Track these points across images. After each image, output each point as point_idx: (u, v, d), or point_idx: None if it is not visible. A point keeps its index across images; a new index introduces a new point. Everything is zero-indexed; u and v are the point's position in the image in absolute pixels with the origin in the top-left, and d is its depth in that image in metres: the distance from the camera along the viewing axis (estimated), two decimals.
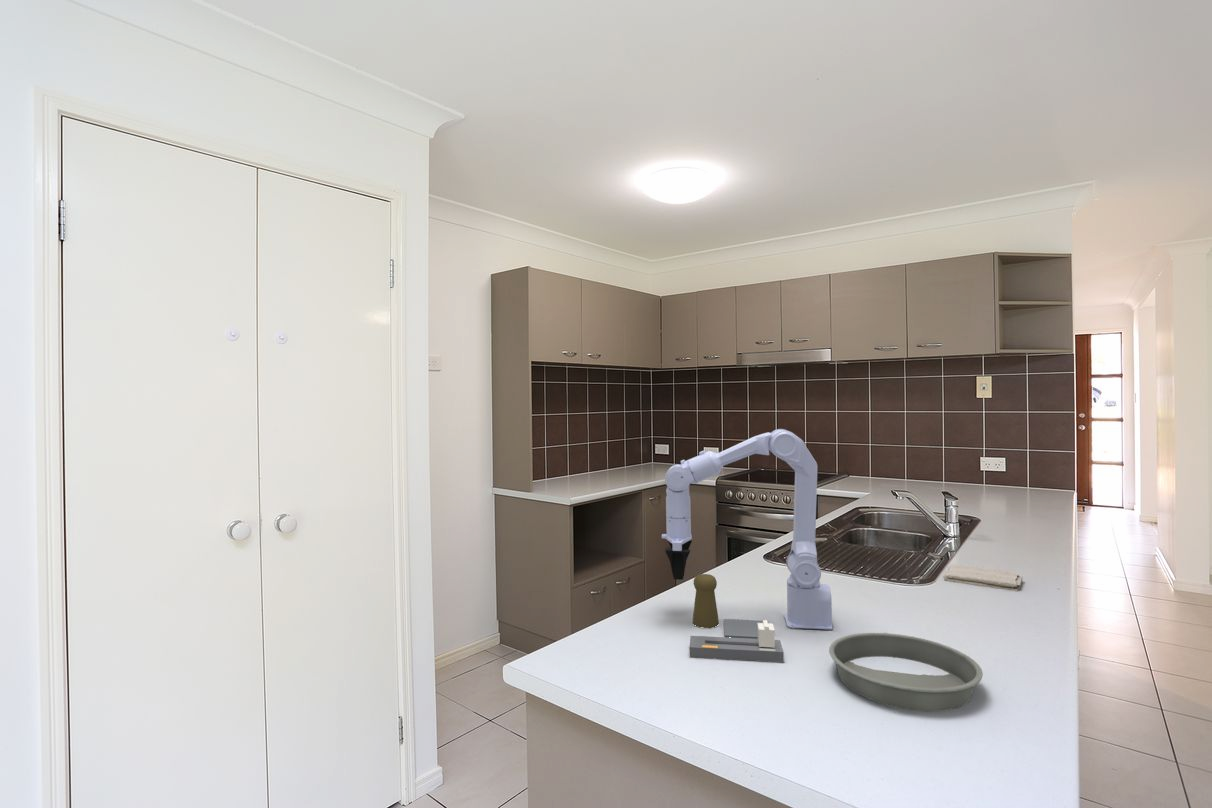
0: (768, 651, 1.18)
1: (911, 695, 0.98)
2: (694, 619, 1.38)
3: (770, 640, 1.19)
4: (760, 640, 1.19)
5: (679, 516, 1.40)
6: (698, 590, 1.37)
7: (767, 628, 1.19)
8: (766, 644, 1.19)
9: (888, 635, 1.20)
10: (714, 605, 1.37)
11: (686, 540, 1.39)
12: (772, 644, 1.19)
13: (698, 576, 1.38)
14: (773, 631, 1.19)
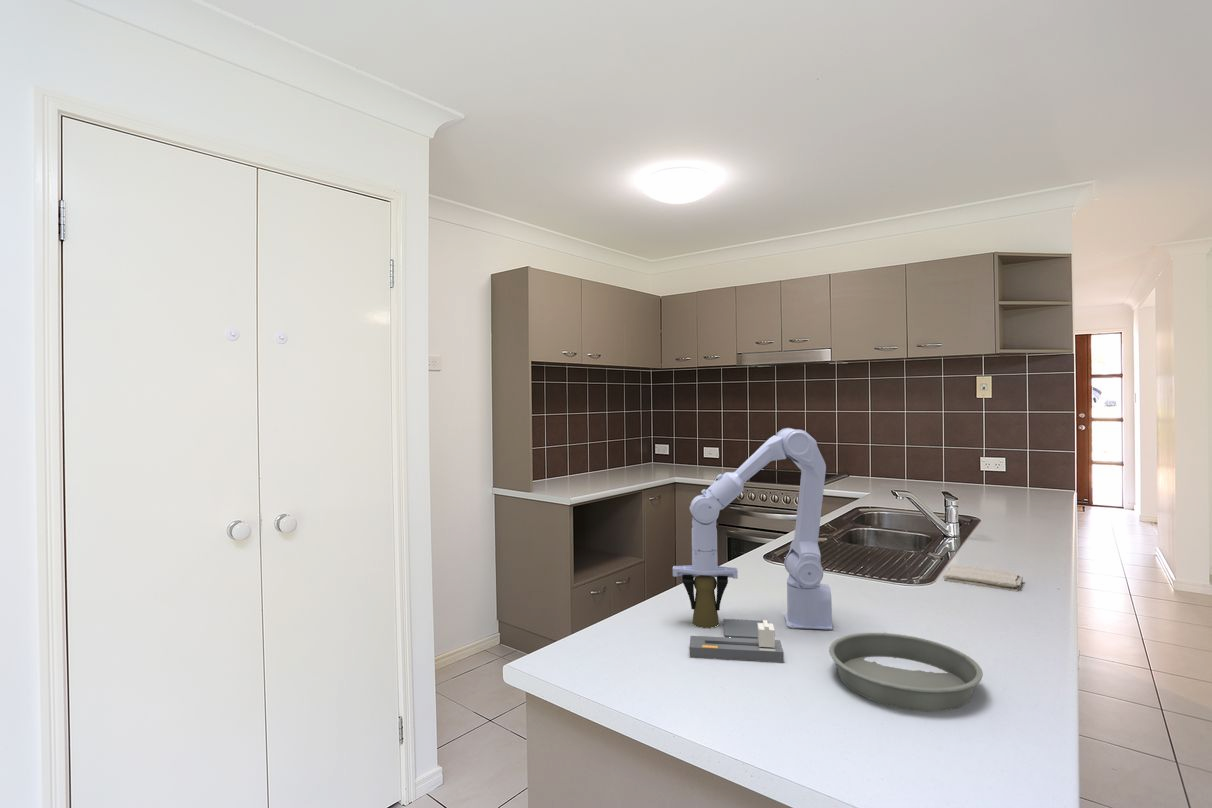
0: (768, 651, 1.18)
1: (911, 695, 0.98)
2: (694, 619, 1.38)
3: (770, 640, 1.19)
4: (760, 640, 1.19)
5: (707, 549, 1.36)
6: (698, 590, 1.37)
7: (767, 628, 1.19)
8: (766, 644, 1.19)
9: (888, 635, 1.20)
10: (714, 605, 1.37)
11: (688, 571, 1.37)
12: (772, 644, 1.19)
13: (698, 576, 1.38)
14: (773, 631, 1.19)
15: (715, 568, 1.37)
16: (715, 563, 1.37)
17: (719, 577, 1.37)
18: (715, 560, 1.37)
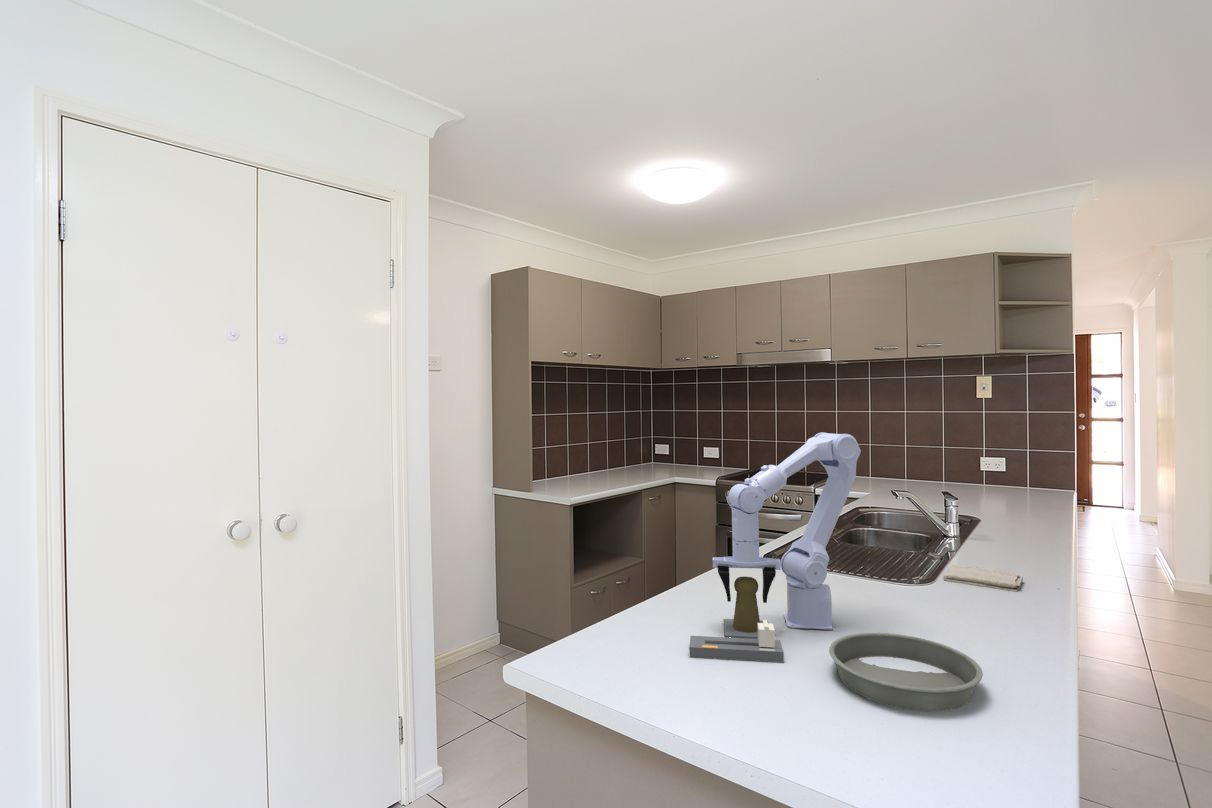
0: (768, 651, 1.18)
1: (911, 695, 0.98)
2: (735, 623, 1.33)
3: (770, 640, 1.19)
4: (760, 640, 1.19)
5: (753, 539, 1.31)
6: (739, 593, 1.33)
7: (767, 628, 1.19)
8: (766, 644, 1.19)
9: (888, 635, 1.20)
10: (756, 609, 1.33)
11: (729, 562, 1.33)
12: (772, 644, 1.19)
13: (739, 579, 1.34)
14: (773, 631, 1.19)
15: (757, 559, 1.32)
16: (757, 554, 1.32)
17: (761, 568, 1.33)
18: (757, 551, 1.32)
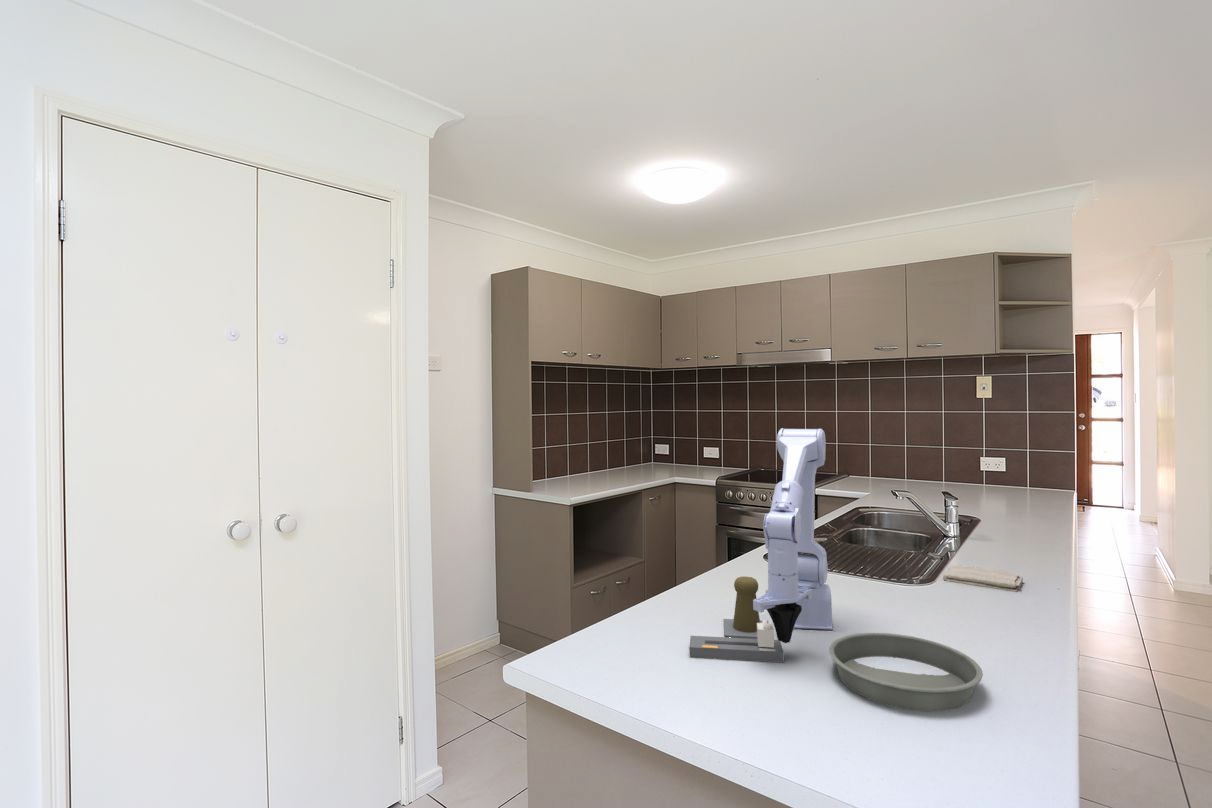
0: (768, 651, 1.18)
1: (911, 695, 0.98)
2: (735, 623, 1.33)
3: (769, 639, 1.19)
4: (759, 640, 1.19)
5: (797, 570, 1.19)
6: (739, 593, 1.33)
7: (766, 628, 1.19)
8: (765, 644, 1.19)
9: (888, 635, 1.20)
10: None
11: (778, 602, 1.17)
12: (771, 644, 1.19)
13: (739, 579, 1.34)
14: (772, 631, 1.19)
15: None
16: None
17: None
18: None
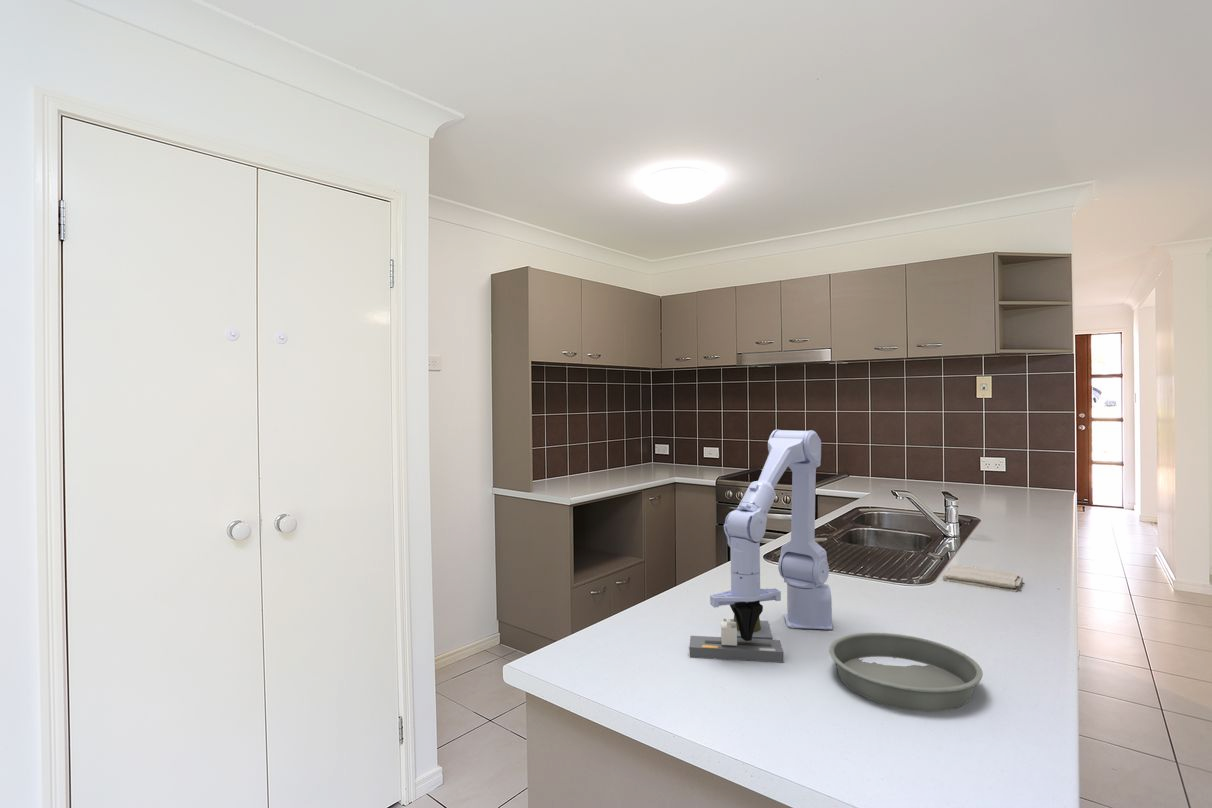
0: (768, 651, 1.18)
1: (911, 694, 0.98)
2: None
3: (732, 638, 1.20)
4: (723, 638, 1.20)
5: (758, 570, 1.20)
6: None
7: (729, 626, 1.20)
8: (728, 642, 1.20)
9: (888, 635, 1.20)
10: None
11: (733, 599, 1.19)
12: (734, 642, 1.20)
13: None
14: (735, 629, 1.20)
15: (760, 592, 1.20)
16: None
17: None
18: None
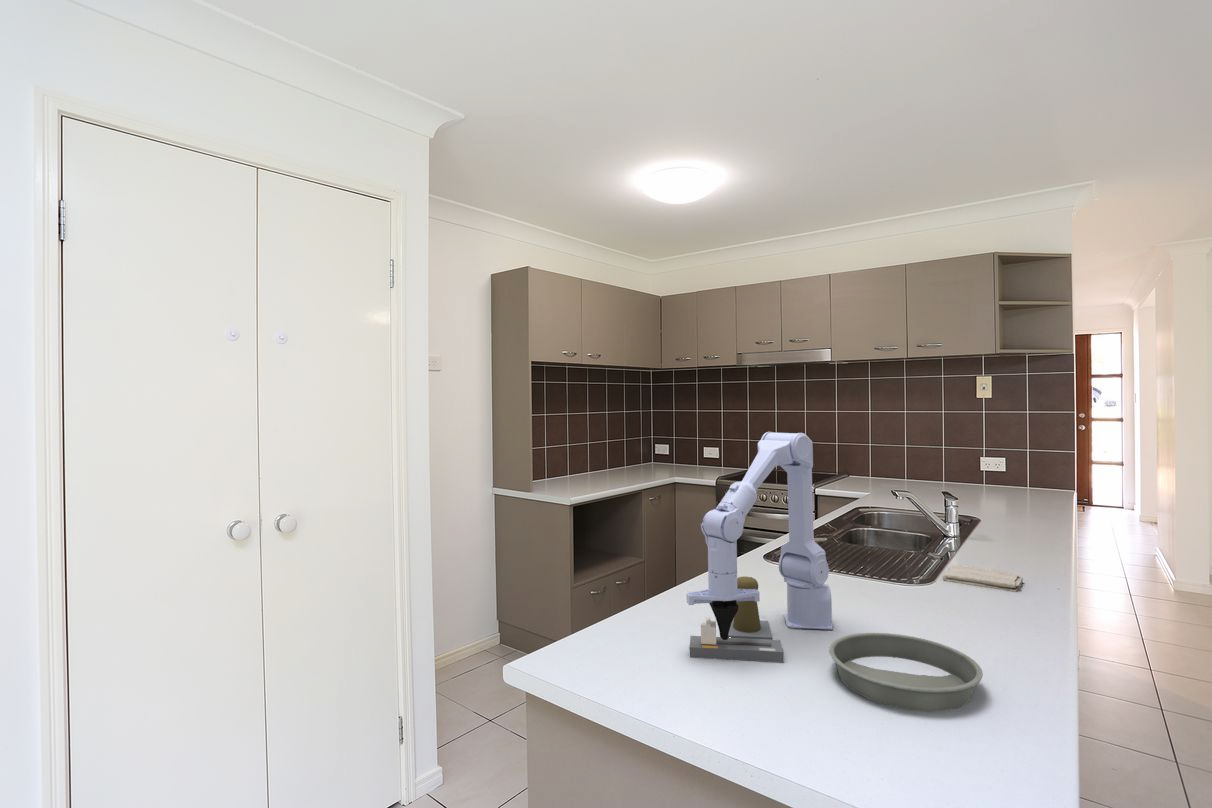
0: (768, 651, 1.18)
1: (911, 695, 0.98)
2: (735, 623, 1.33)
3: (712, 637, 1.21)
4: (702, 637, 1.21)
5: (734, 570, 1.20)
6: None
7: (709, 625, 1.21)
8: (708, 641, 1.21)
9: (888, 635, 1.20)
10: (756, 609, 1.33)
11: (708, 598, 1.20)
12: (714, 641, 1.21)
13: (739, 579, 1.34)
14: (715, 628, 1.21)
15: (736, 592, 1.21)
16: (736, 586, 1.21)
17: None
18: (736, 583, 1.21)
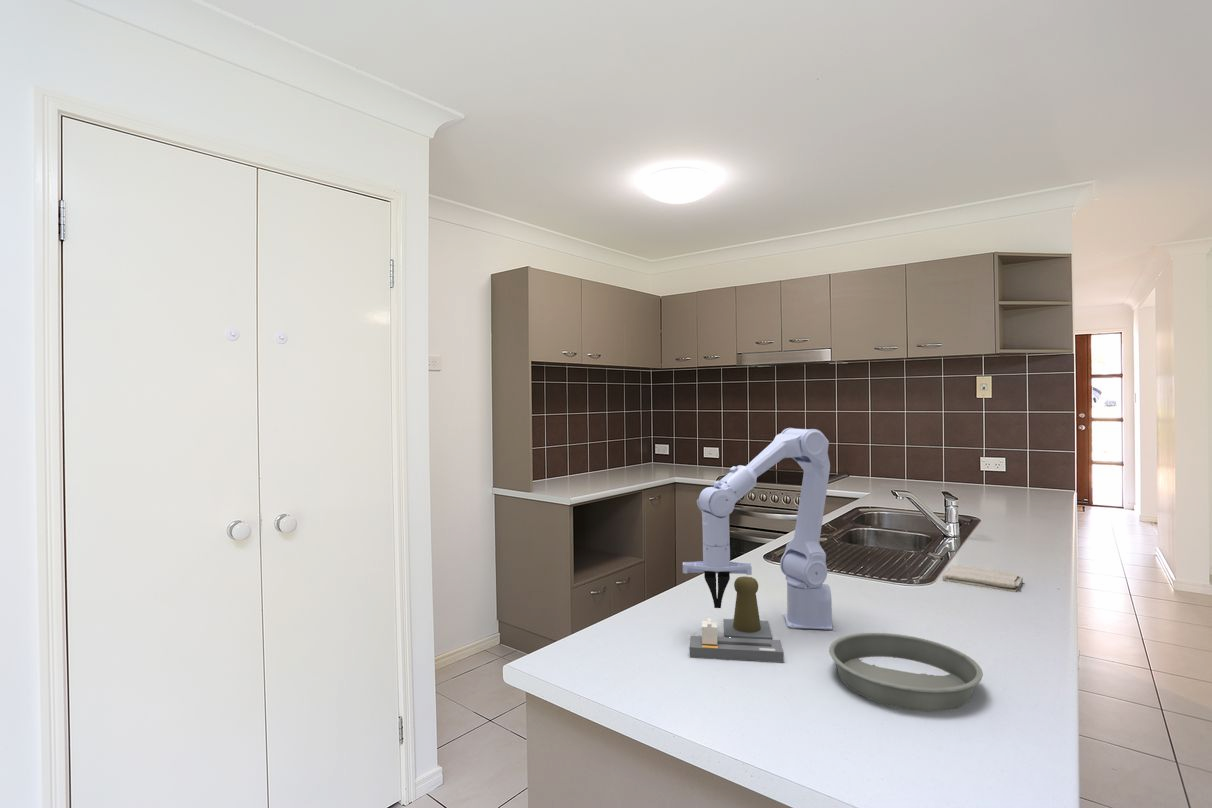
0: (768, 651, 1.18)
1: (911, 695, 0.98)
2: (735, 623, 1.33)
3: (713, 637, 1.21)
4: (703, 637, 1.21)
5: (724, 543, 1.28)
6: (739, 593, 1.33)
7: (710, 625, 1.21)
8: (709, 641, 1.21)
9: (888, 635, 1.20)
10: (756, 609, 1.33)
11: (700, 567, 1.30)
12: (715, 641, 1.21)
13: (739, 579, 1.34)
14: (716, 628, 1.21)
15: (728, 564, 1.29)
16: (728, 559, 1.29)
17: (732, 573, 1.30)
18: (728, 555, 1.29)
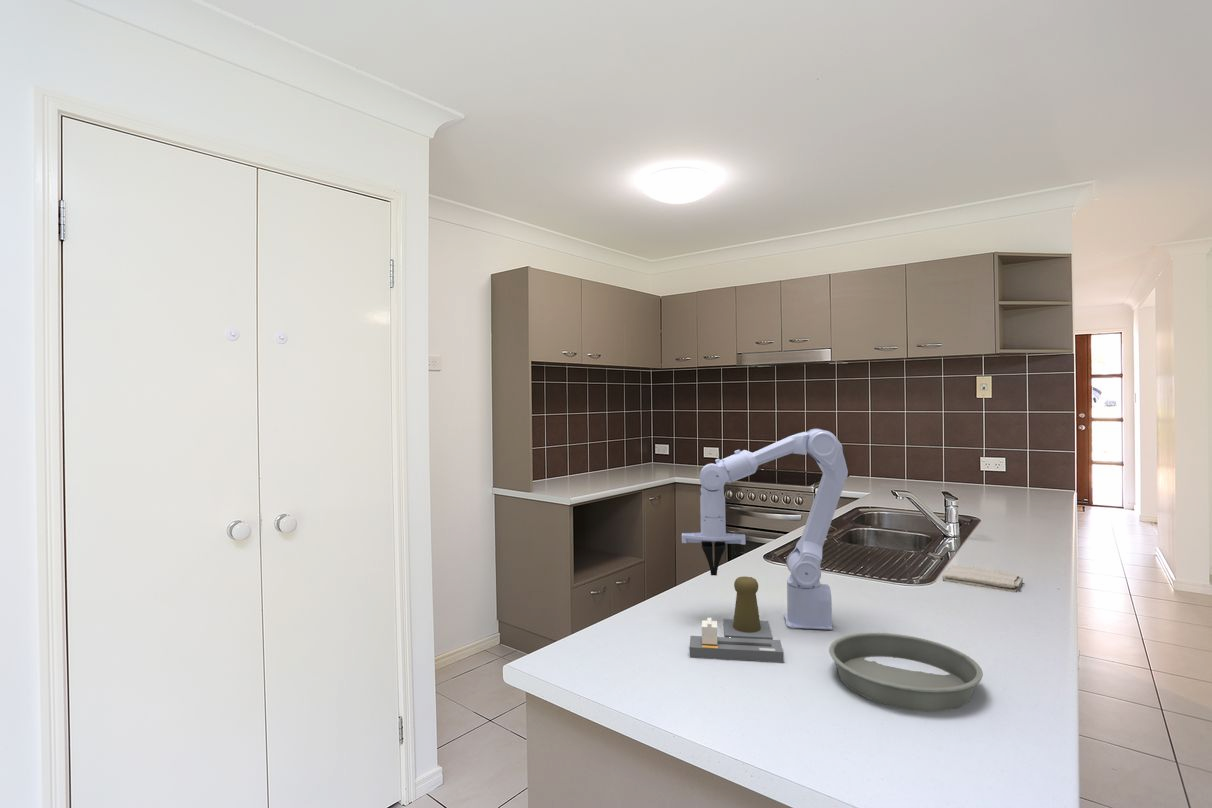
0: (768, 651, 1.18)
1: (911, 694, 0.98)
2: (735, 623, 1.33)
3: (713, 637, 1.21)
4: (703, 637, 1.21)
5: (714, 515, 1.38)
6: (739, 593, 1.33)
7: (710, 625, 1.21)
8: (709, 641, 1.21)
9: (888, 635, 1.20)
10: (756, 609, 1.33)
11: (697, 537, 1.40)
12: (715, 641, 1.21)
13: (739, 579, 1.34)
14: (716, 628, 1.21)
15: (723, 534, 1.39)
16: (723, 529, 1.39)
17: (727, 543, 1.40)
18: (723, 526, 1.39)
